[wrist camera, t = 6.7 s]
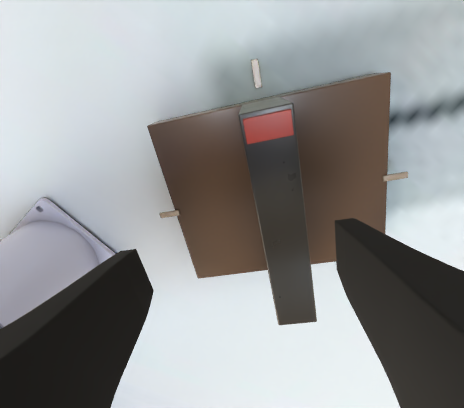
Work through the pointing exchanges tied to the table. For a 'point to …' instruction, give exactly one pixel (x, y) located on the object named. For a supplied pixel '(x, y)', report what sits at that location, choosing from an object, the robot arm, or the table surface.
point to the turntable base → (311, 164)
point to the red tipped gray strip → (280, 205)
